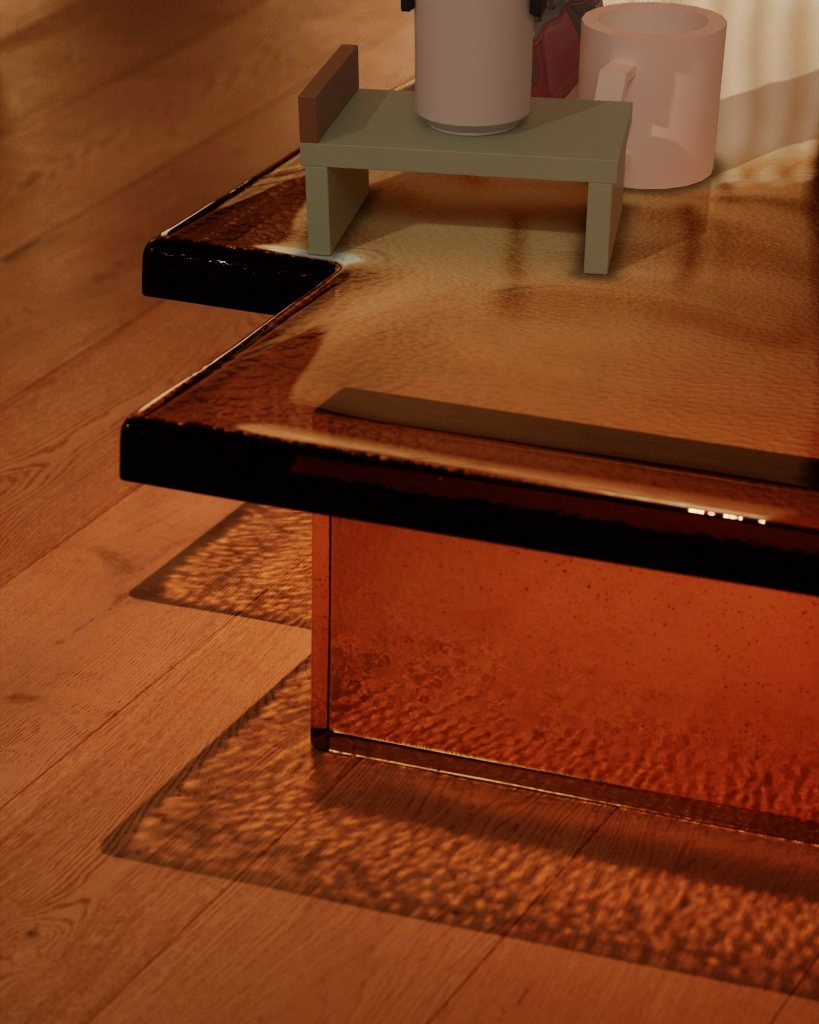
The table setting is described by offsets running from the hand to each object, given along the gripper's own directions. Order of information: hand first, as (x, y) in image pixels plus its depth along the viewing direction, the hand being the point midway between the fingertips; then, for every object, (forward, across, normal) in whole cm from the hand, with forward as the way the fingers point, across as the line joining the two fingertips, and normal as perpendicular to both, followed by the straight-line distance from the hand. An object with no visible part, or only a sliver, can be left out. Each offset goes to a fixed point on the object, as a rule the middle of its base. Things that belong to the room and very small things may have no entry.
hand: (474, 7), depth 100 cm
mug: (+15, +10, +14) cm, 23 cm away
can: (+7, 0, 0) cm, 7 cm away
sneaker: (+15, -1, +25) cm, 29 cm away
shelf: (+15, 0, 0) cm, 15 cm away
